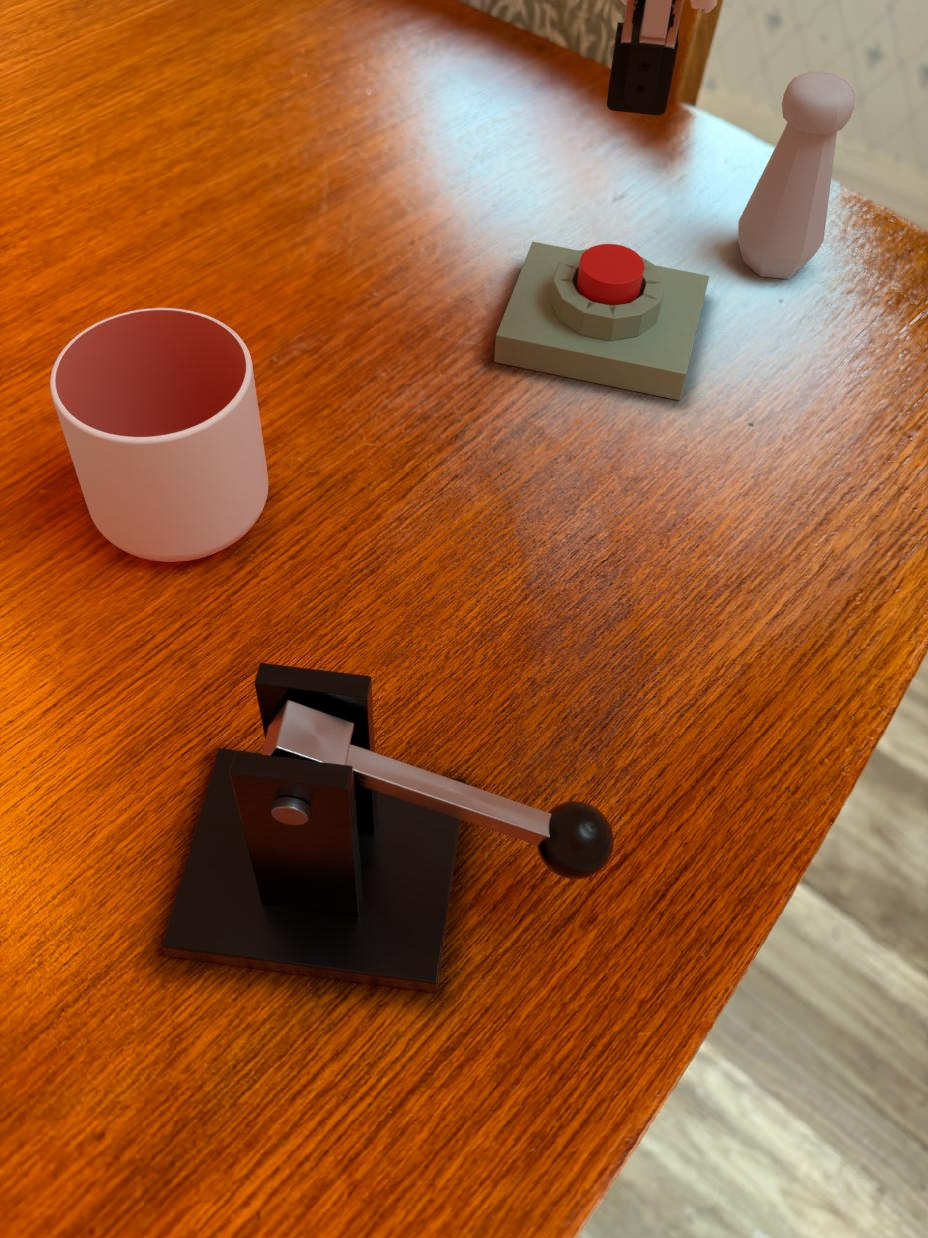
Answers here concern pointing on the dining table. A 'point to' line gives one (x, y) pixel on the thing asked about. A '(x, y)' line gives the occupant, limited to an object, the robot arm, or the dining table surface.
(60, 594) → the dining table surface
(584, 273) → the button
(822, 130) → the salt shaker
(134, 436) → the cup
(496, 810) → the lever
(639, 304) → the button box
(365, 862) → the bracket
